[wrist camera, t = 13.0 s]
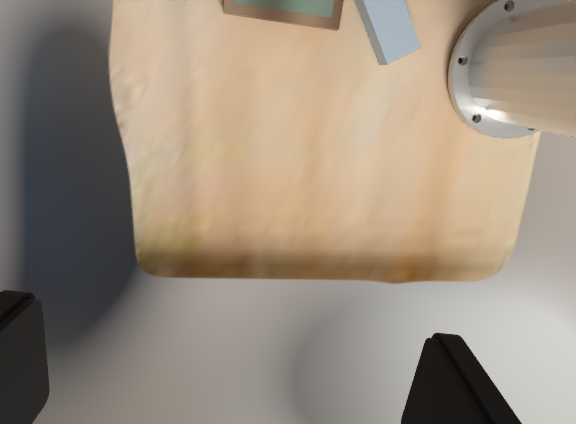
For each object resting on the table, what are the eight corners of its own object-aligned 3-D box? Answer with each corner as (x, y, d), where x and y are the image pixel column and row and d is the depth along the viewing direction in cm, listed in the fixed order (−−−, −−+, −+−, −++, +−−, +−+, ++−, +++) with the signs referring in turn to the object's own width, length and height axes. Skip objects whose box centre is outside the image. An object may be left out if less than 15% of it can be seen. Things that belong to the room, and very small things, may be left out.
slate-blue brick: (353, -1, 34) (360, -7, 31) (385, -18, 34) (395, -26, 31) (378, 65, 36) (387, 64, 33) (409, 49, 36) (420, 47, 33)
